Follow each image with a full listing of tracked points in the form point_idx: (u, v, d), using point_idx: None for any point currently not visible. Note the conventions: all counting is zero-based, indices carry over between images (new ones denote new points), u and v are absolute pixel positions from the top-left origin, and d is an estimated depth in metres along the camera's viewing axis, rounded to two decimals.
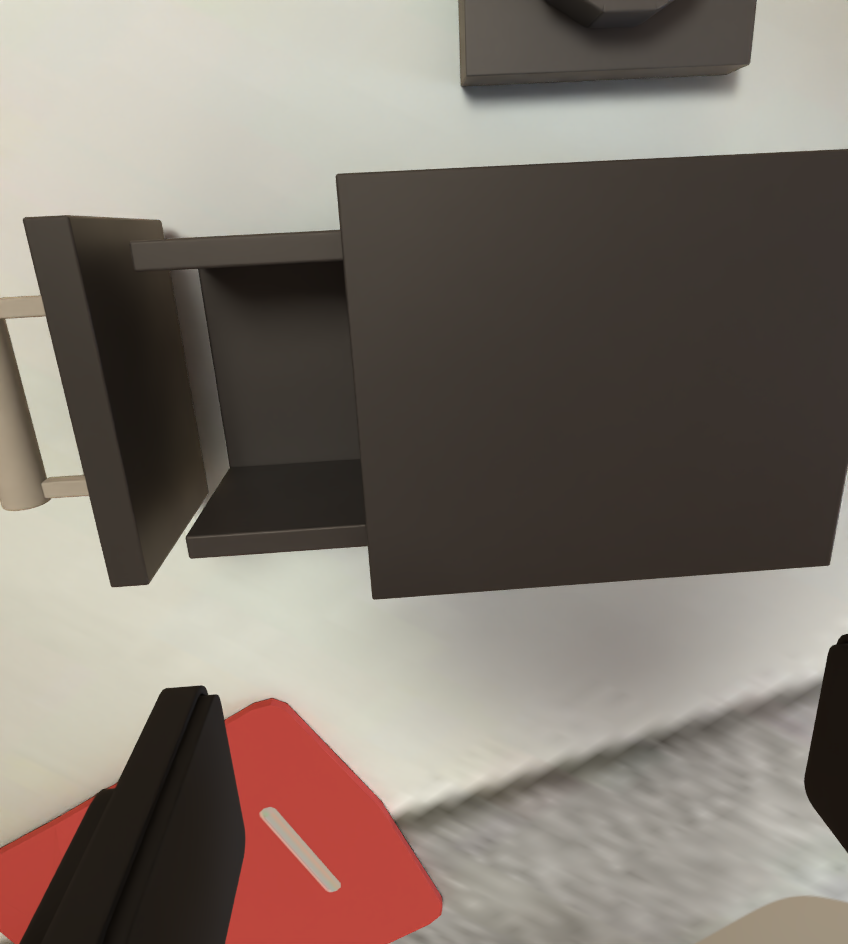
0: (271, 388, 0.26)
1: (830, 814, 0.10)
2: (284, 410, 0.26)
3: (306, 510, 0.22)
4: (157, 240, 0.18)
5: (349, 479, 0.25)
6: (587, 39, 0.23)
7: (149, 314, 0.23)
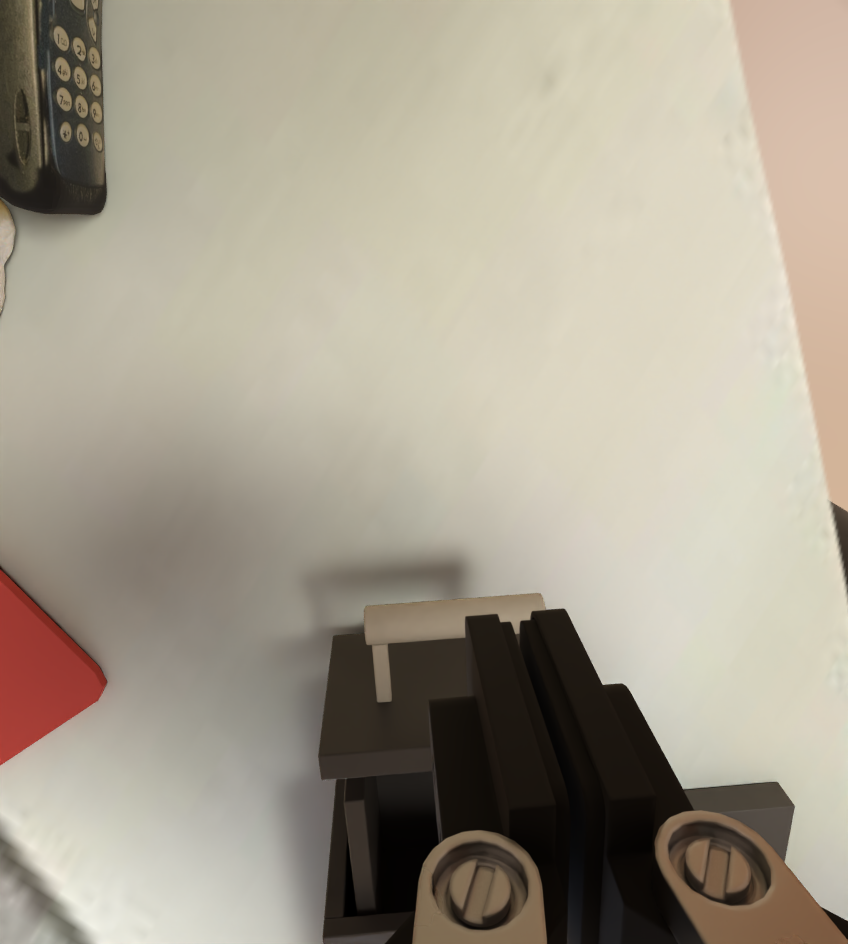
0: None
1: None
2: None
3: (372, 838, 0.28)
4: None
5: (375, 810, 0.31)
6: None
7: None
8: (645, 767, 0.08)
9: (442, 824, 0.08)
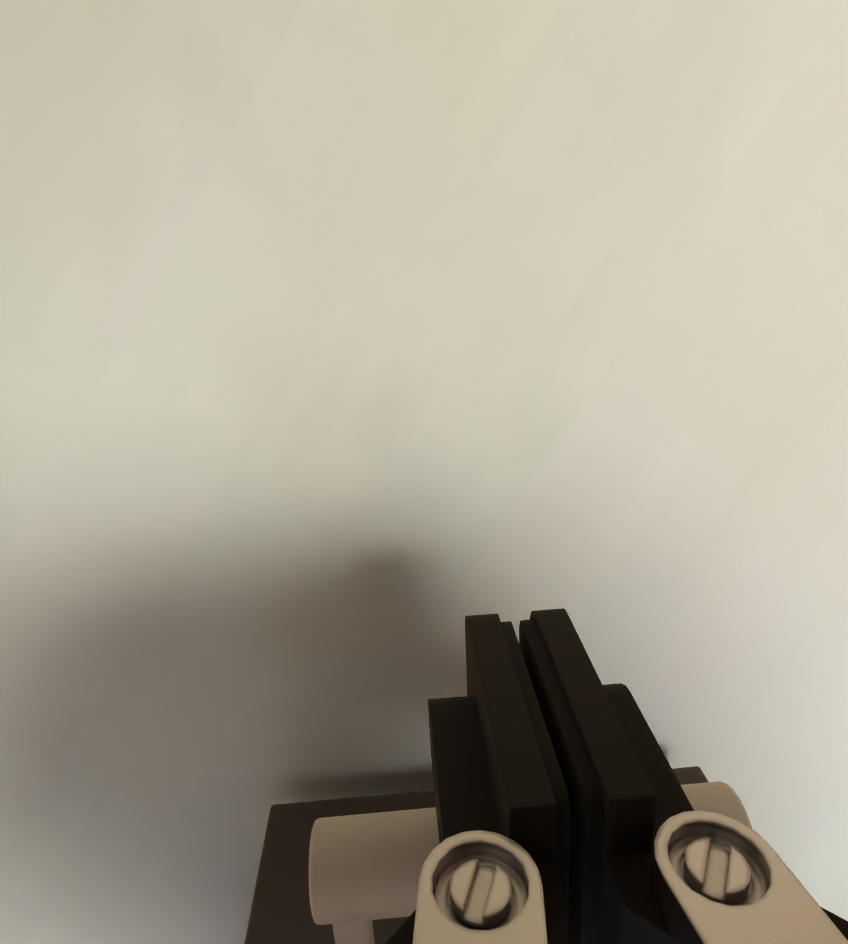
0: None
1: None
2: None
3: None
4: None
5: None
6: None
7: None
8: (645, 767, 0.08)
9: (443, 824, 0.08)
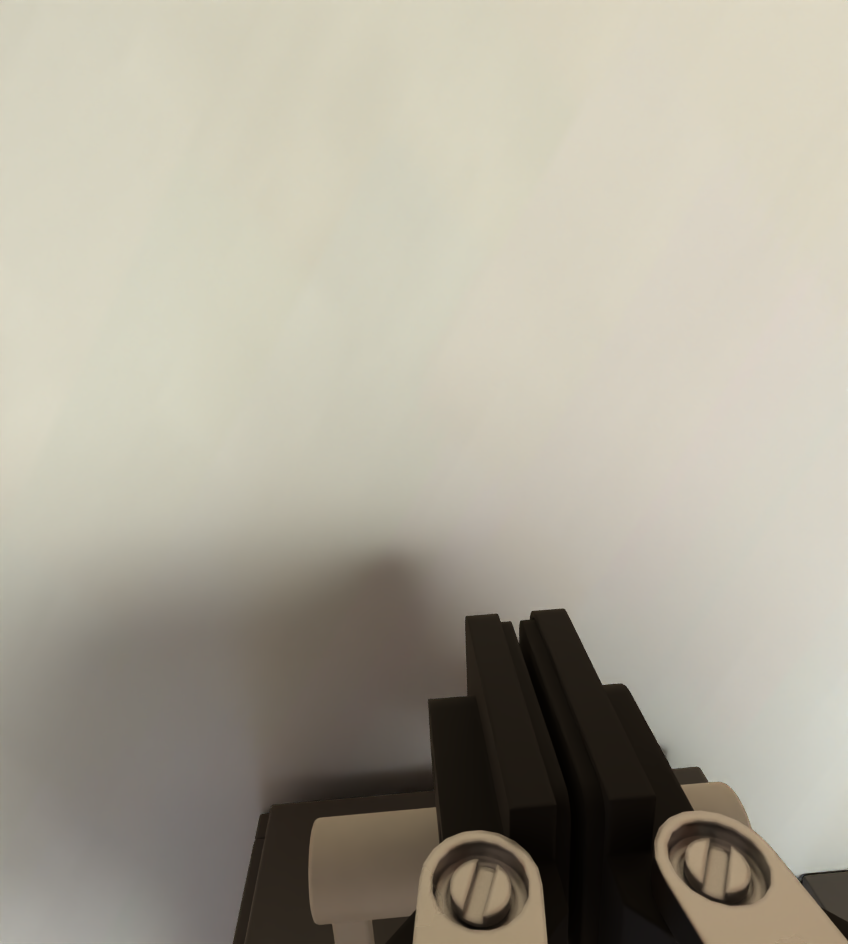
0: None
1: None
2: None
3: None
4: None
5: None
6: None
7: None
8: (645, 767, 0.08)
9: (443, 824, 0.08)
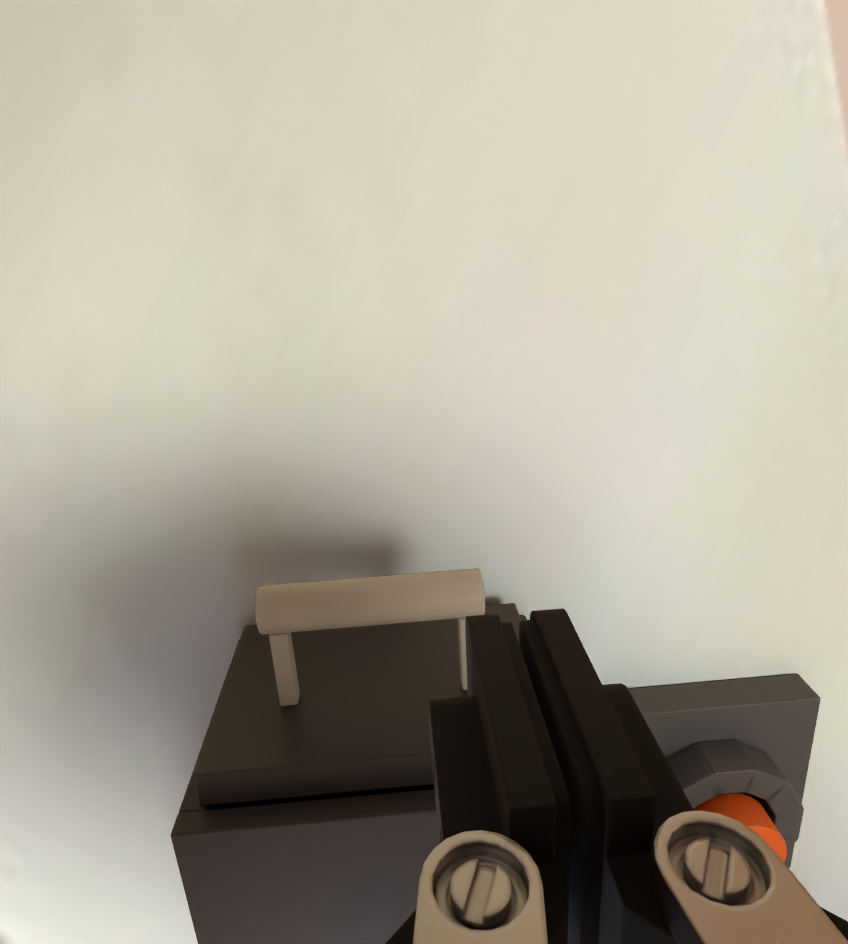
0: None
1: None
2: None
3: None
4: None
5: None
6: None
7: None
8: (645, 767, 0.08)
9: (443, 824, 0.08)
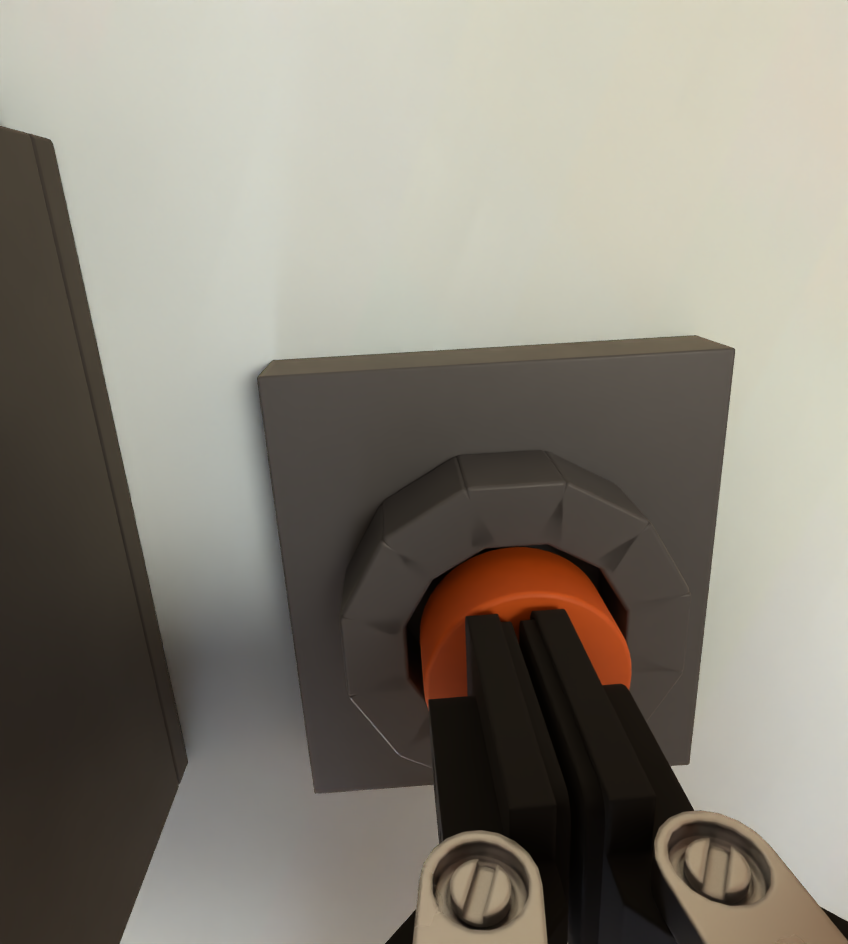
0: None
1: None
2: None
3: None
4: None
5: None
6: (329, 573, 0.14)
7: None
8: (645, 767, 0.08)
9: (443, 824, 0.08)
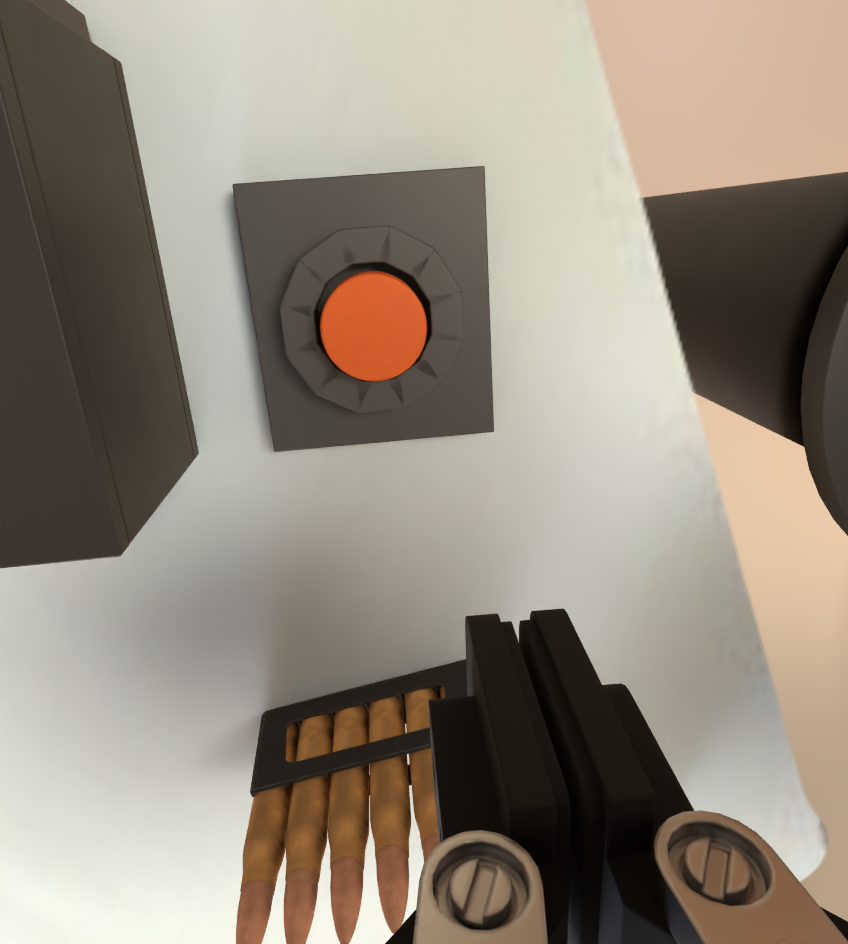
0: None
1: None
2: None
3: None
4: None
5: None
6: (276, 302, 0.25)
7: None
8: (645, 767, 0.08)
9: (443, 824, 0.08)
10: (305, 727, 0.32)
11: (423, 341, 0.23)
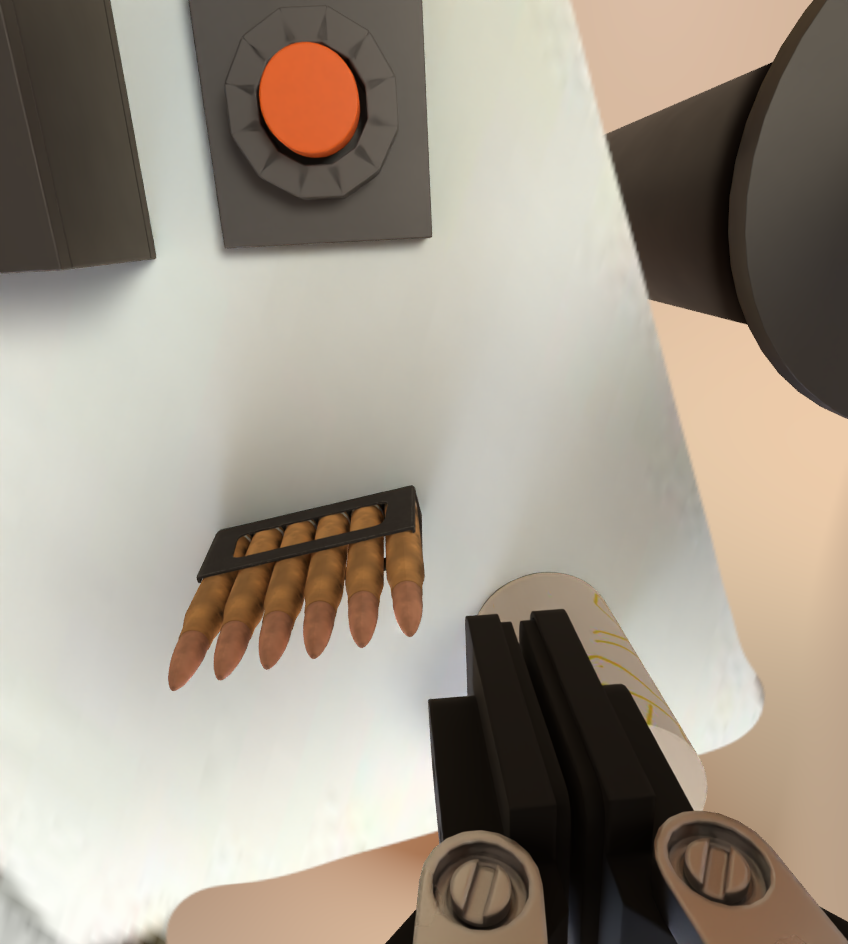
0: None
1: None
2: None
3: None
4: None
5: None
6: None
7: None
8: (645, 767, 0.08)
9: (443, 824, 0.08)
10: (255, 538, 0.33)
11: (355, 113, 0.24)
